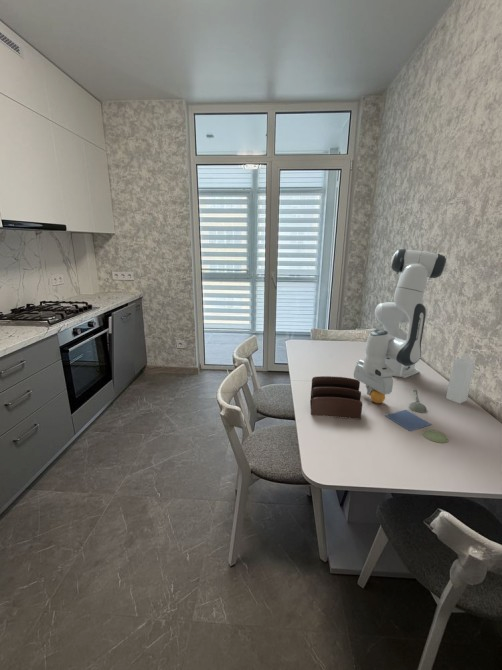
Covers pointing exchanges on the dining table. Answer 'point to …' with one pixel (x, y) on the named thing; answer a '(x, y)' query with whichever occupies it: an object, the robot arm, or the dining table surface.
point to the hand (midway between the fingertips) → (369, 394)
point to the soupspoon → (417, 405)
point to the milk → (460, 379)
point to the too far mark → (435, 436)
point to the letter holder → (336, 397)
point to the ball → (377, 396)
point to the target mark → (408, 420)
